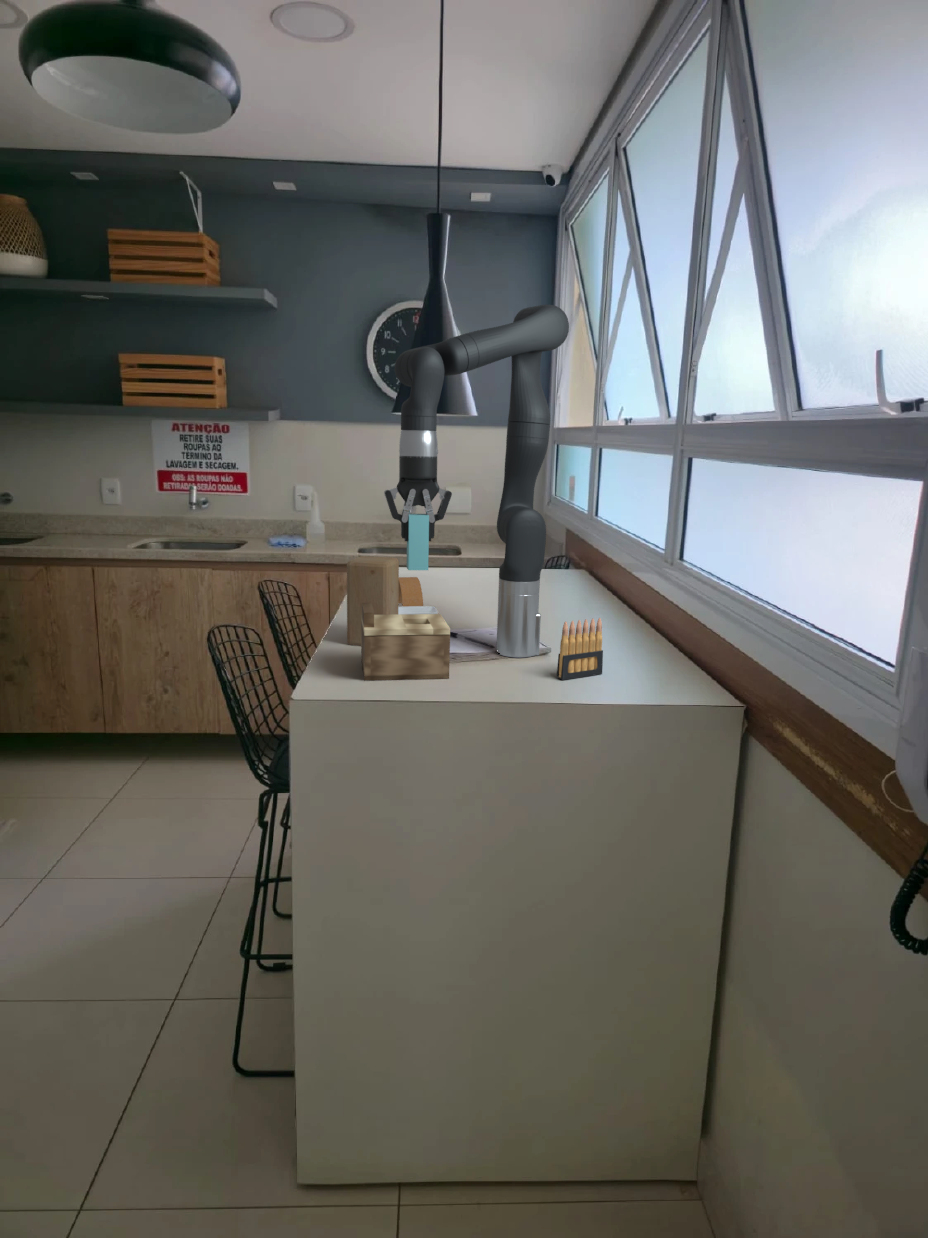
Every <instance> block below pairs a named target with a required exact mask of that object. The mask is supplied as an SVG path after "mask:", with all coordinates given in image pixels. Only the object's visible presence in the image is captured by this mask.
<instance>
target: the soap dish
mask: <svg viewBox="0 0 928 1238" xmlns="http://www.w3.org/2000/svg"><path fill="white" fill-rule="evenodd" d="M398 614H440V612H438V609H437V607H435V606H434V605H432V606H431V605H428V606H427V605H423V606H405V607H403V606H398Z"/></svg>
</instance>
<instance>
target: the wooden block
mask: <svg viewBox="0 0 928 1238" xmlns="http://www.w3.org/2000/svg"><path fill="white" fill-rule="evenodd" d="M399 564H400V561H399V560H398V558H396V557H390V556H389V557H388V556H369V555H368V556H367V555H361V556H358V557H356V558H353V559H350V560H348V561H347V563H346V637H347V639H346V642H347V644H348V645H350V646H358V647H361V615H362V603H372V607H373V610H374V615H393V614H398V607H399V603H398V595H399V577H400V575H399V574H400V571H399V570H400V567H399V566H400V565H399Z"/></svg>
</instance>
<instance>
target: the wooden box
mask: <svg viewBox="0 0 928 1238" xmlns="http://www.w3.org/2000/svg"><path fill="white" fill-rule="evenodd" d="M360 648H361V650H360V651H361V652H360V653H361V655H360V656H361V657H360V658H361V662H360V663H361V667H362V673H363V674H362V675H363V680H364V682H367V681H369V682H370V681H371V682H372V681H373V682H374V681H403V680H404V681H407V680H409V681H410V680H443V679H444V680H445V679H446V680H447V679H448V680H449V679H450V657H451V656H450V655H451V654H450V651H451V633H450V634H445V635H378V636H364V631H363V626H362V621H361V646H360Z"/></svg>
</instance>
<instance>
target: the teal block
mask: <svg viewBox="0 0 928 1238" xmlns="http://www.w3.org/2000/svg"><path fill="white" fill-rule="evenodd" d="M429 545H430V541H429V515H427V514H426V513H410V514H409V517H408V541H406V569H407V571H429V554H430V553H429V551H430V550H429V549H430V546H429Z"/></svg>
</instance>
